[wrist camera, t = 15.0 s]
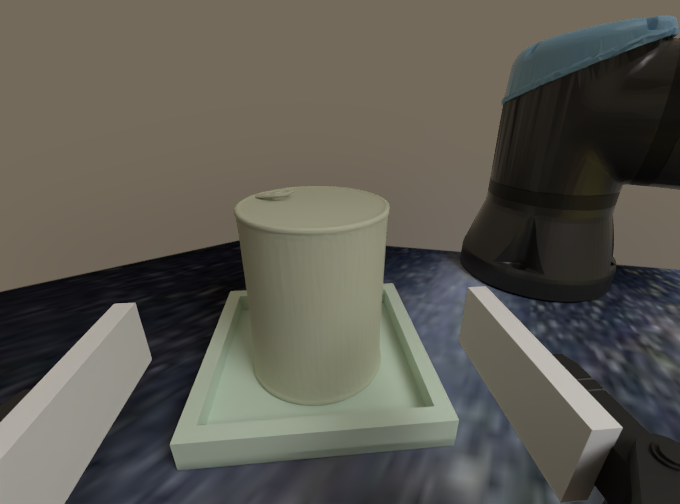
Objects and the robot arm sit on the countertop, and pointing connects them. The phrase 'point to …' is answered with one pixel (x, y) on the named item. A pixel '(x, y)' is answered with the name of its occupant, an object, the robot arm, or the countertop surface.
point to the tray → (310, 421)
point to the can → (314, 289)
